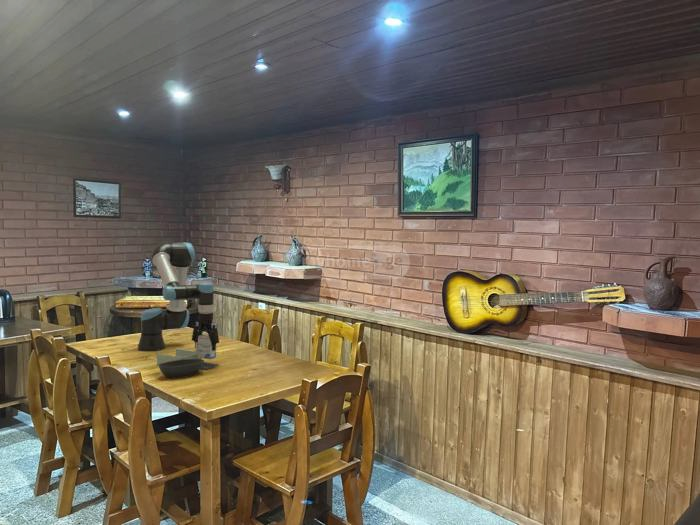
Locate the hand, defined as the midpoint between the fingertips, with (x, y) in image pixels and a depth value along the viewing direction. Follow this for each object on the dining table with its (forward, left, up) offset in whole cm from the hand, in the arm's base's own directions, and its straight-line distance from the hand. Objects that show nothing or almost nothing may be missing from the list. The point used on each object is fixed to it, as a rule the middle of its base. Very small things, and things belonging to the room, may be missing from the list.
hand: (205, 355), depth 259 cm
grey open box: (-15, -3, -6) cm, 16 cm away
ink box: (0, +2, -2) cm, 2 cm away
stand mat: (0, 0, -6) cm, 6 cm away
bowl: (+1, -18, -6) cm, 19 cm away
